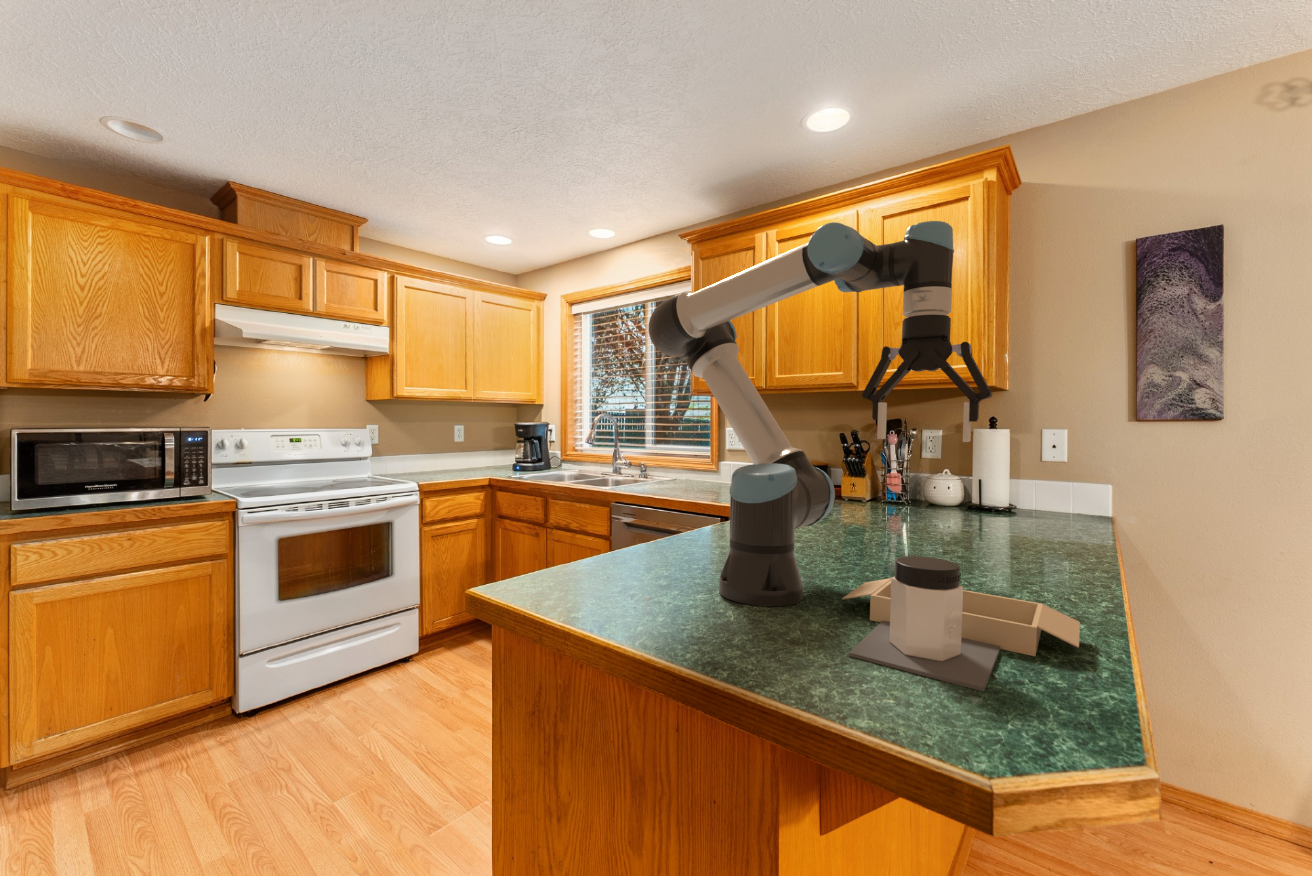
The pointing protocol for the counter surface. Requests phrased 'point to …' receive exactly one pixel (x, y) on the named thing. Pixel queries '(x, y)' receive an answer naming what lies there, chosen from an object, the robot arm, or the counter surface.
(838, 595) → the counter surface
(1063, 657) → the counter surface
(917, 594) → the jar
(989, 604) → the carton
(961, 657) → the mat
